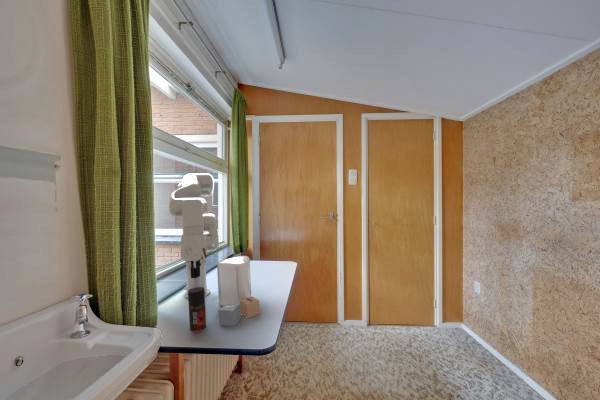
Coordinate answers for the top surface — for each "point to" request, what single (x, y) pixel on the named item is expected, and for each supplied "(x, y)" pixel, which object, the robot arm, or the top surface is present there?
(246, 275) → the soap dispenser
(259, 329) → the top surface
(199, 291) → the deodorant
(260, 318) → the top surface
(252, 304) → the terracotta block marked
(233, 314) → the slate block marked
